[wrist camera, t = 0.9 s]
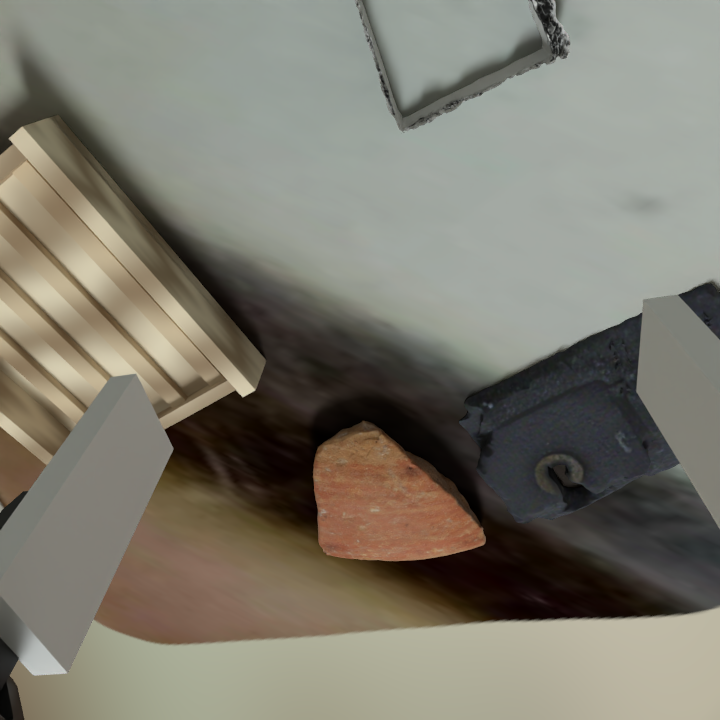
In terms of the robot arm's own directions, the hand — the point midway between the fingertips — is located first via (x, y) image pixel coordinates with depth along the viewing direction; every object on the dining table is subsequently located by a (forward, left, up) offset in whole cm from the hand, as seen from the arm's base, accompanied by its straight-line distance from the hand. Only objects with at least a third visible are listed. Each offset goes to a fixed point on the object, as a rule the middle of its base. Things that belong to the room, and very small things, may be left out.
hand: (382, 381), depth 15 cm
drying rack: (-3, -25, -25) cm, 35 cm away
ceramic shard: (+23, -14, -25) cm, 37 cm away
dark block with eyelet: (+26, +5, -25) cm, 36 cm away
